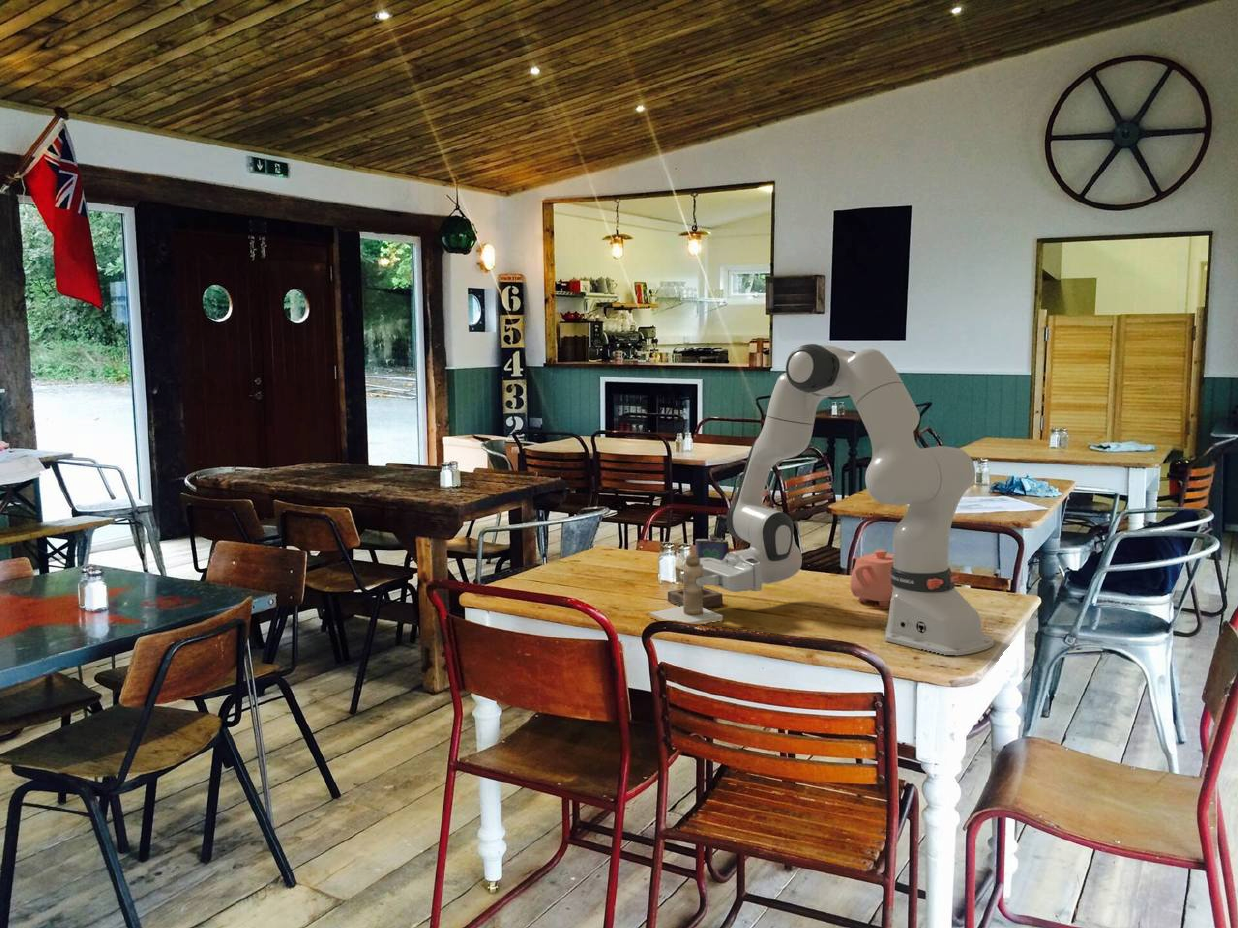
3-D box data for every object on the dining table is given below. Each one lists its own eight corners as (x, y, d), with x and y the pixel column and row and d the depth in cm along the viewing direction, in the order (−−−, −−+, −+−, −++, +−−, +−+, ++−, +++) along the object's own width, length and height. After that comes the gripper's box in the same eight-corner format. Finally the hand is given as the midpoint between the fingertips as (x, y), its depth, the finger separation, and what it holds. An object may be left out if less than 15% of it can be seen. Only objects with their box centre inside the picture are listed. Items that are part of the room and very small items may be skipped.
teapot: (879, 613, 232) (878, 561, 230) (836, 604, 240) (835, 553, 239) (928, 595, 244) (929, 546, 243) (886, 587, 253) (886, 539, 252)
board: (722, 620, 231) (722, 615, 230) (677, 630, 225) (677, 624, 225) (693, 608, 241) (693, 603, 241) (649, 617, 235) (649, 612, 235)
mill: (706, 613, 233) (706, 554, 231) (690, 616, 231) (689, 557, 229) (696, 608, 237) (695, 550, 235) (679, 611, 235) (679, 553, 232)
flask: (694, 572, 275) (694, 533, 274) (698, 570, 278) (697, 531, 276) (727, 575, 271) (727, 535, 270) (731, 572, 274) (730, 533, 272)
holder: (722, 604, 244) (722, 593, 244) (689, 610, 240) (688, 600, 239) (700, 595, 252) (700, 585, 252) (668, 601, 248) (667, 591, 247)
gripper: (713, 548, 247) (664, 557, 241) (765, 564, 230) (713, 573, 223) (714, 574, 248) (665, 583, 242) (765, 592, 230) (714, 602, 224)
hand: (688, 578), depth 232 cm, fingers open, 5 cm apart
